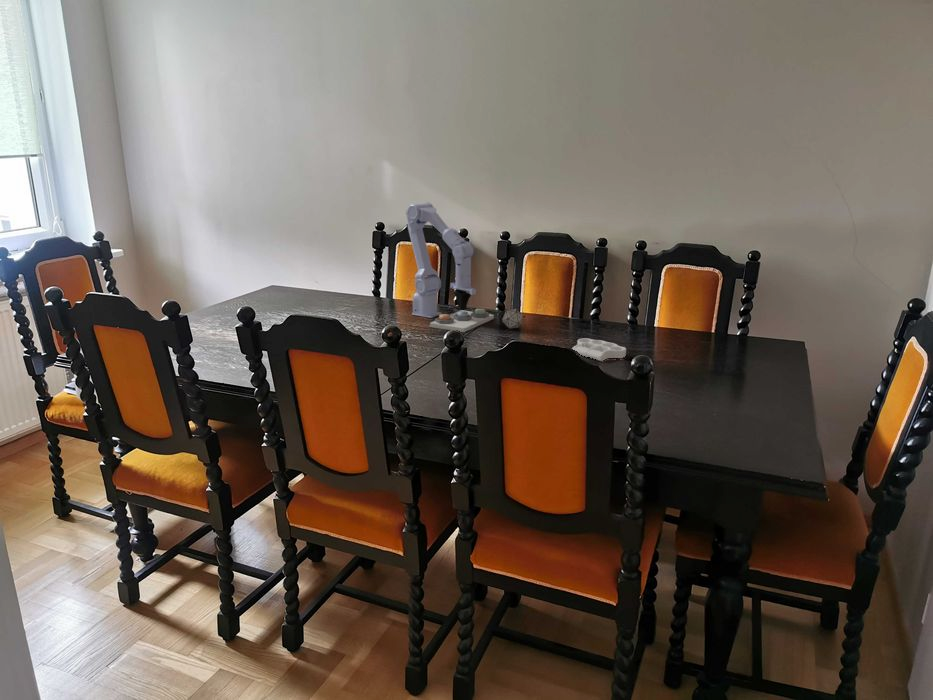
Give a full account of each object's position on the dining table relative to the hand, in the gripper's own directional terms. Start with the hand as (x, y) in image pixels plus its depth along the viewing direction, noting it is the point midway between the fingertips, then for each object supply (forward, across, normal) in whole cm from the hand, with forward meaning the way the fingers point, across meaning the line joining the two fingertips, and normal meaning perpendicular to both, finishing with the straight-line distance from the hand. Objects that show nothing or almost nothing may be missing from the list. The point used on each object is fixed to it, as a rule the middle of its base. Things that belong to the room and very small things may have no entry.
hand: (462, 309), depth 268 cm
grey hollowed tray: (+6, +58, +16) cm, 60 cm away
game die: (+5, +18, +11) cm, 21 cm away
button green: (+3, 0, +8) cm, 9 cm away
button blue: (+3, 0, 0) cm, 3 cm away
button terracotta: (+3, 0, -8) cm, 9 cm away
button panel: (+5, 0, 0) cm, 5 cm away
